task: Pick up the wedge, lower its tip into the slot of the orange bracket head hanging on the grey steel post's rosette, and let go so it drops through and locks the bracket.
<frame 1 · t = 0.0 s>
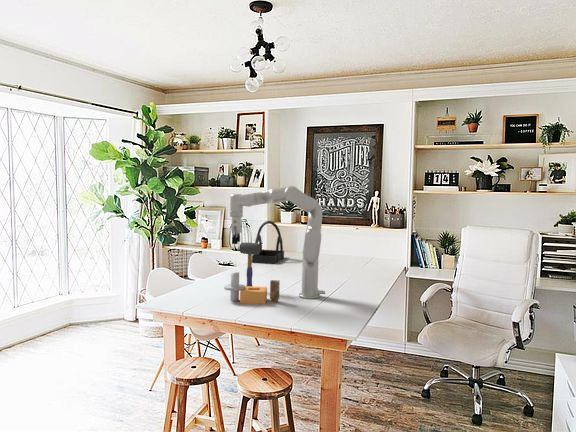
hand: (236, 242, 278), 31 cm above the table, tool pointing down, fingers open, 9 cm apart
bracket: (253, 301, 265), on the table
basket: (268, 260, 402), on the table
rubber mallet: (249, 290, 292), on the table
wedge: (274, 301, 265), on the table
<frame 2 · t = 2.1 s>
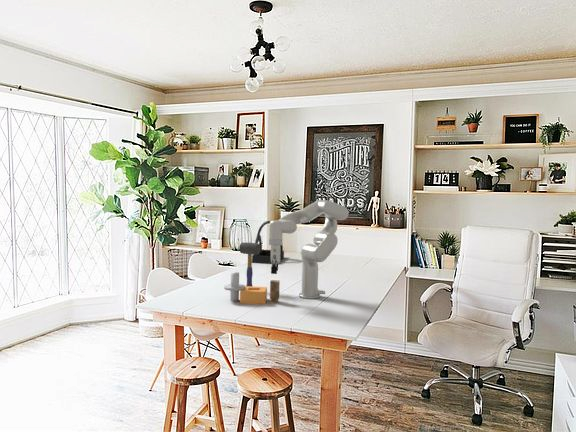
hand: (274, 272, 263), 17 cm above the table, tool pointing down, fingers open, 9 cm apart
nothing on the table moved.
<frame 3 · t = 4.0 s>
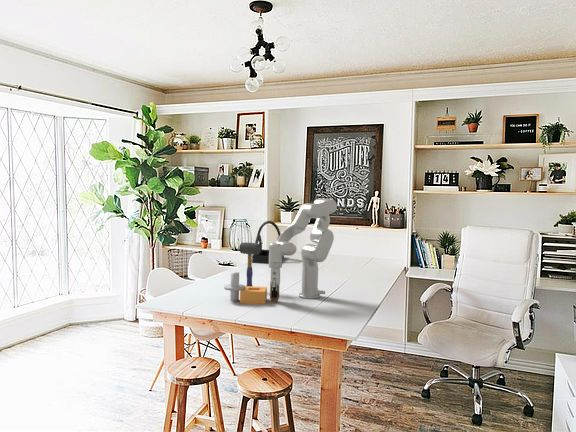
hand: (274, 296, 264), 3 cm above the table, tool pointing down, fingers closed on wedge, 4 cm apart
wedge: (274, 301, 265), on the table, touching gripper
everything else where it was.
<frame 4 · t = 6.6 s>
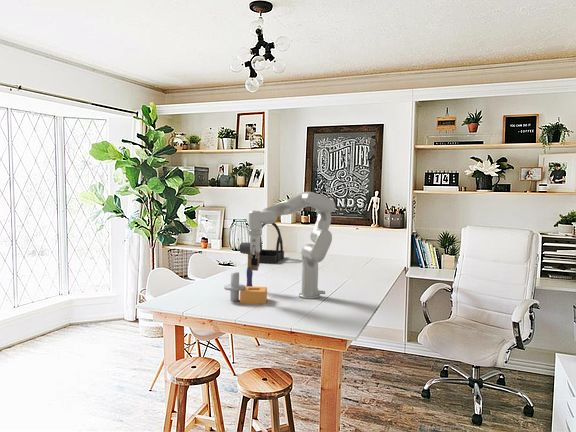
hand: (254, 264, 263), 21 cm above the table, tool pointing down, fingers closed on wedge, 4 cm apart
wedge: (254, 269, 264), point 18 cm above the table, touching gripper
everything else where it was.
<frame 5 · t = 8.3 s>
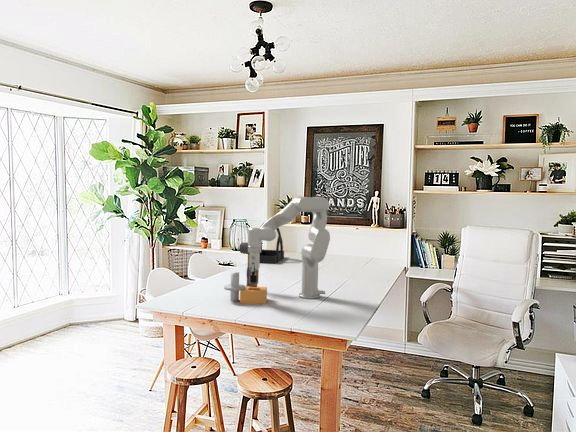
hand: (253, 281, 264), 12 cm above the table, tool pointing down, fingers closed on wedge, 4 cm apart
wedge: (253, 286, 264), point 8 cm above the table, touching gripper
everything else where it was.
when the fingers open (8 cm above the table, at t = 9.4 s): wedge drops 4 cm, resting in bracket.
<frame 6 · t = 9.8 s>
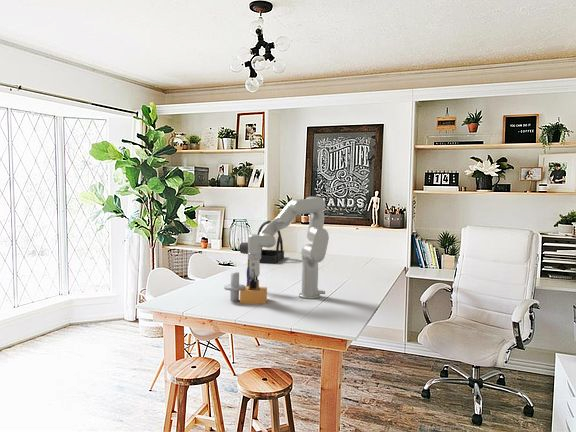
hand: (253, 286, 264), 8 cm above the table, tool pointing down, fingers open, 8 cm apart
wedge: (253, 301, 265), resting in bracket
everything else where it was.
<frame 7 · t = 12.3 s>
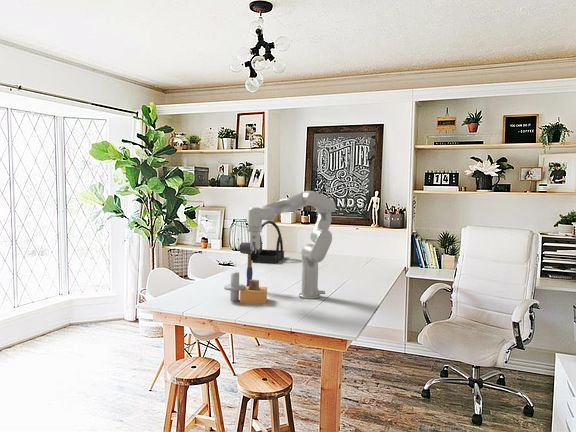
hand: (254, 259, 263), 24 cm above the table, tool pointing down, fingers open, 9 cm apart
nothing on the table moved.
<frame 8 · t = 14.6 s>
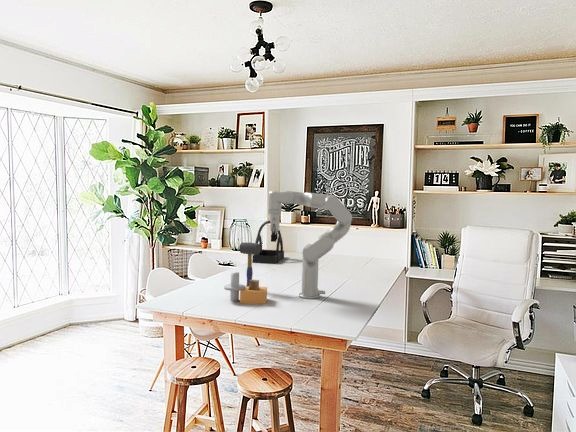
hand: (274, 240, 277), 33 cm above the table, tool pointing down, fingers open, 9 cm apart
nothing on the table moved.
at the end: wedge 0.1 cm off-centre on the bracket, point 0.0 cm above the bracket's base; wedge tilted 0°; the gripper is holding nothing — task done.
